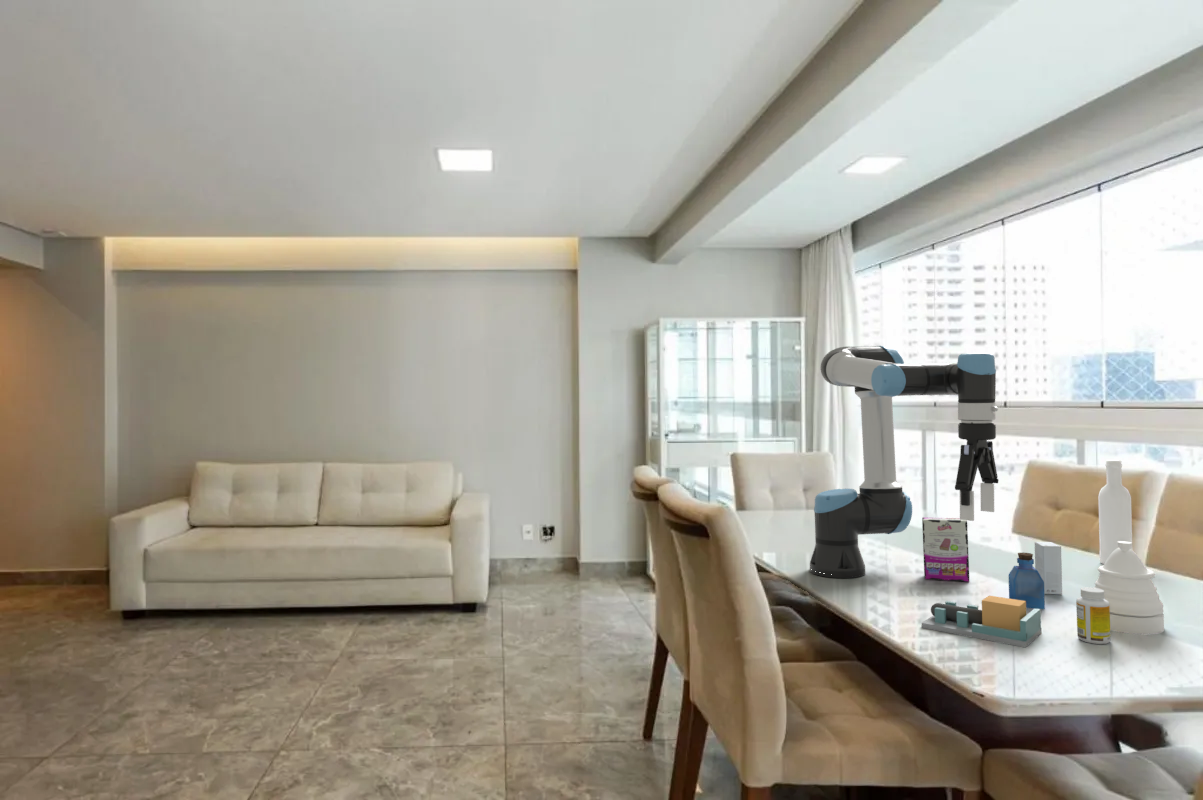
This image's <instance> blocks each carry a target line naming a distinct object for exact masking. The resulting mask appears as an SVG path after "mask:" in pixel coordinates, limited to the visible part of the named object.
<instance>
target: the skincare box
mask: <svg viewBox="0 0 1203 800" xmlns="http://www.w3.org/2000/svg"><path fill="white" fill-rule="evenodd" d="M1062 561H1063V560H1062V546H1060V545H1059V544H1056V543H1054V542H1052V541H1034V568H1035V569H1036V570H1037V571H1038V573H1039V574H1040V576H1041V578H1042V580H1043V581H1044V595H1063V575H1062V574H1063V568H1062Z"/></svg>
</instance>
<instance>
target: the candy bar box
mask: <svg viewBox="0 0 1203 800" xmlns="http://www.w3.org/2000/svg"><path fill="white" fill-rule="evenodd" d="M921 520H922V522H921V525H922V526H921V527H922V529H921V530H922V545H923V546H922V547H923V548H922V551H923V552H922V553H923V575H924V580H930V581H931V580H932V581H948V582H965V583H967V582H968V583H969V582H970V561H969V560H970V559H969V536H968V535H969V534H968V520H960V517H959V518H957V517H924V516H923V517H922V519H921Z"/></svg>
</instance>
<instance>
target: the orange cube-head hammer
mask: <svg viewBox="0 0 1203 800" xmlns="http://www.w3.org/2000/svg"><path fill="white" fill-rule="evenodd" d="M936 607H937V608H943V609H946V620H951V621H957V611H961V612H967V613H968V624H973V623H975V624H981V625H986V626H992V627H997V628H1003V629H1009V630H1014V631H1020V620H1021V619H1022V618H1024V617H1025V616H1026V615H1027V608H1026V601H1022V600H1016V599H1009V597H1001V596H995V595H987V596H986V597H985V598H983V599H982V600H981V609H978V610H977V609H971V608H967V607H964V606H957V605H956V606H953V605H947V604H945V603H940V602H936V603H934V604H932V605H931V607H930V613H931V615H932V616H934V617H935V608H936Z"/></svg>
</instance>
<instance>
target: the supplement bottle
mask: <svg viewBox="0 0 1203 800" xmlns="http://www.w3.org/2000/svg"><path fill="white" fill-rule="evenodd" d="M1104 598H1105V596H1104V590H1102V589H1098V588H1094V587H1090V586H1089V587H1086V586H1085V587H1081V588H1080V596H1079V597H1077V598H1076V602H1075V603H1076V632H1077V633H1076V634H1077V635H1076V636H1077V638H1078V640H1081V641H1083V642H1085V643H1088V644H1094V645H1106V644H1109V643H1110V642H1111V639H1112V638H1111V630H1110V605H1109V602H1108V601H1107V600H1105V599H1104Z"/></svg>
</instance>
